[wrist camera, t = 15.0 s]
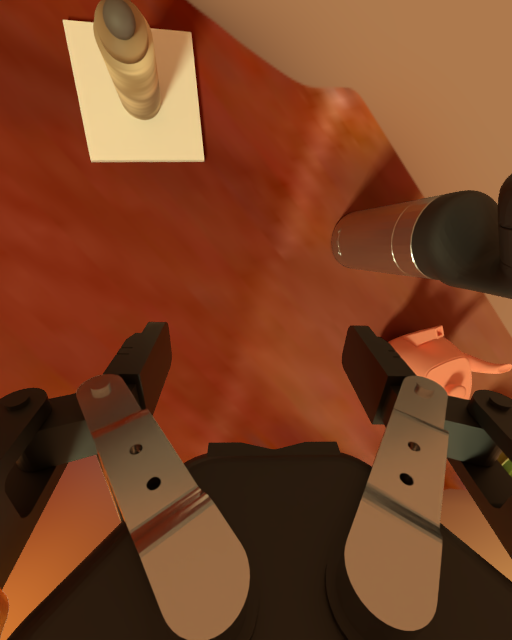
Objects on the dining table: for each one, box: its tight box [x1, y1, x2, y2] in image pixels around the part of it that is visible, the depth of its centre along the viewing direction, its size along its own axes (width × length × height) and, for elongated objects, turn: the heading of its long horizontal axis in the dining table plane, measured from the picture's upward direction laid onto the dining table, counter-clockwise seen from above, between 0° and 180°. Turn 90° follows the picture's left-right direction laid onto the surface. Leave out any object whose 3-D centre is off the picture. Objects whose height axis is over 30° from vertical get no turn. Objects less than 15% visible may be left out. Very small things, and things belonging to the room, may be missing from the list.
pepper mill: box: [93, 0, 161, 120], centre depth 28 cm, size 5×5×14 cm
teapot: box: [388, 325, 512, 400], centre depth 50 cm, size 16×17×14 cm
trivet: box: [63, 20, 204, 162], centre depth 35 cm, size 14×14×1 cm
